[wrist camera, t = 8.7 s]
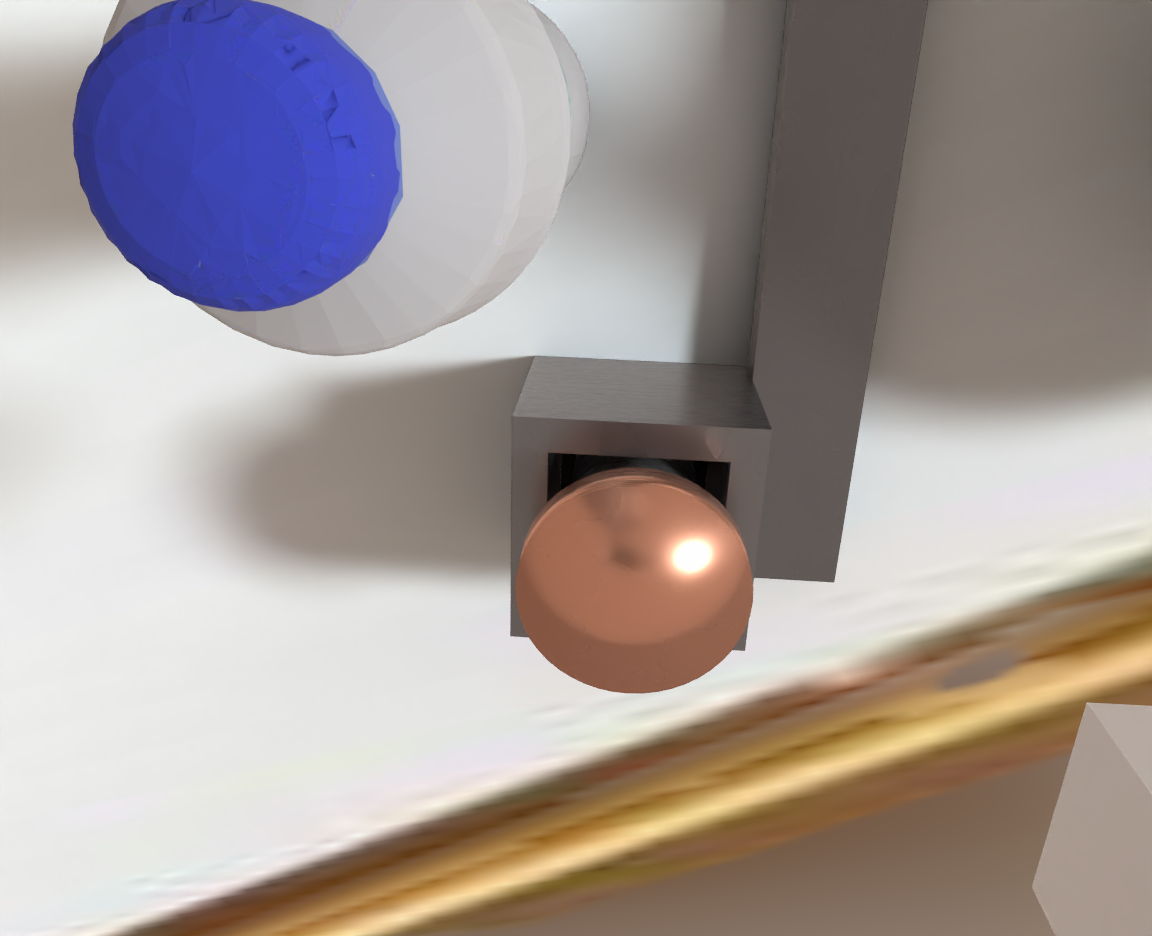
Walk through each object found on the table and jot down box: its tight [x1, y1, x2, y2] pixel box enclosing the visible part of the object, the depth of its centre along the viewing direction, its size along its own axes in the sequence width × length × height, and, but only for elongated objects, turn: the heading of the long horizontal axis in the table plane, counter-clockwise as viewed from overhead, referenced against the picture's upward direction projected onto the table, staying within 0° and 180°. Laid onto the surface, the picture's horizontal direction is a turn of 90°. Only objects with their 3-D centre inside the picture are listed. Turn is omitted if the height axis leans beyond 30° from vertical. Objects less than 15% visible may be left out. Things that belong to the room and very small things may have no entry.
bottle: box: [73, 0, 590, 356], centre depth 19 cm, size 7×7×20 cm
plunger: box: [515, 454, 753, 693], centre depth 27 cm, size 6×6×8 cm
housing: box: [510, 0, 928, 651], centre depth 25 cm, size 29×10×6 cm, turn 178°
